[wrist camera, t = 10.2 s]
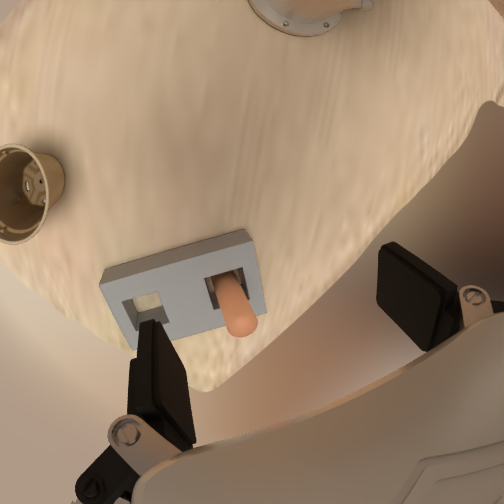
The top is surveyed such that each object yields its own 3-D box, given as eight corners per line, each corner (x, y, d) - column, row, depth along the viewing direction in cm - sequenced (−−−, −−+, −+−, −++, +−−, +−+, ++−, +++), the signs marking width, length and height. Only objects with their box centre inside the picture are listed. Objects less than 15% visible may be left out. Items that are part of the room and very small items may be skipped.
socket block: (244, 229, 35) (253, 240, 32) (258, 296, 40) (267, 312, 36) (104, 269, 32) (98, 285, 29) (134, 331, 37) (132, 350, 33)
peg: (230, 260, 37) (254, 308, 27) (235, 280, 38) (260, 331, 28) (207, 266, 36) (223, 317, 26) (213, 286, 37) (231, 340, 28)
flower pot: (1, 176, 24) (-38, 190, 16) (50, 123, 24) (16, 122, 16) (40, 233, 28) (9, 263, 21) (91, 185, 28) (67, 203, 21)
